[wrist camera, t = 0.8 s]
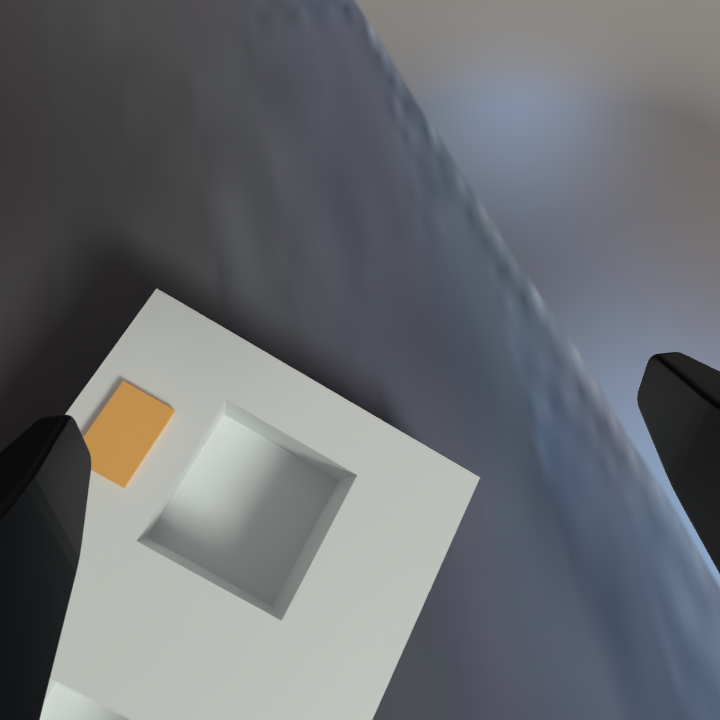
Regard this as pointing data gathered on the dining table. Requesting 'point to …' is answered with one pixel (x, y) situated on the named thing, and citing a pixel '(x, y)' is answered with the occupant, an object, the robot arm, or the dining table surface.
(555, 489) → the dining table surface
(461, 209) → the dining table surface
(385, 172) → the dining table surface
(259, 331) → the dining table surface
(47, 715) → the port box
